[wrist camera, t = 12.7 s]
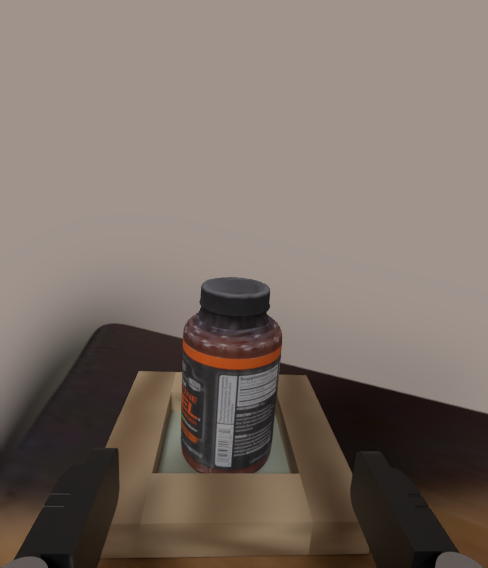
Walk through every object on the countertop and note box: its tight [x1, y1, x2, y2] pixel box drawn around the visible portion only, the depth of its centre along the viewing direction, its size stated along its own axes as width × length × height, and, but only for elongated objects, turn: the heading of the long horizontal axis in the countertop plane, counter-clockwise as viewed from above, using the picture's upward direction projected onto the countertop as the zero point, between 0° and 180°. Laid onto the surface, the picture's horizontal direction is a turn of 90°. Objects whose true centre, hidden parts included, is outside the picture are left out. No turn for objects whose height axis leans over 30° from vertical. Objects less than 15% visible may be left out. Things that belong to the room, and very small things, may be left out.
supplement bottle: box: [181, 277, 282, 473], centre depth 22 cm, size 6×6×11 cm
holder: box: [100, 371, 369, 559], centre depth 24 cm, size 14×16×2 cm
